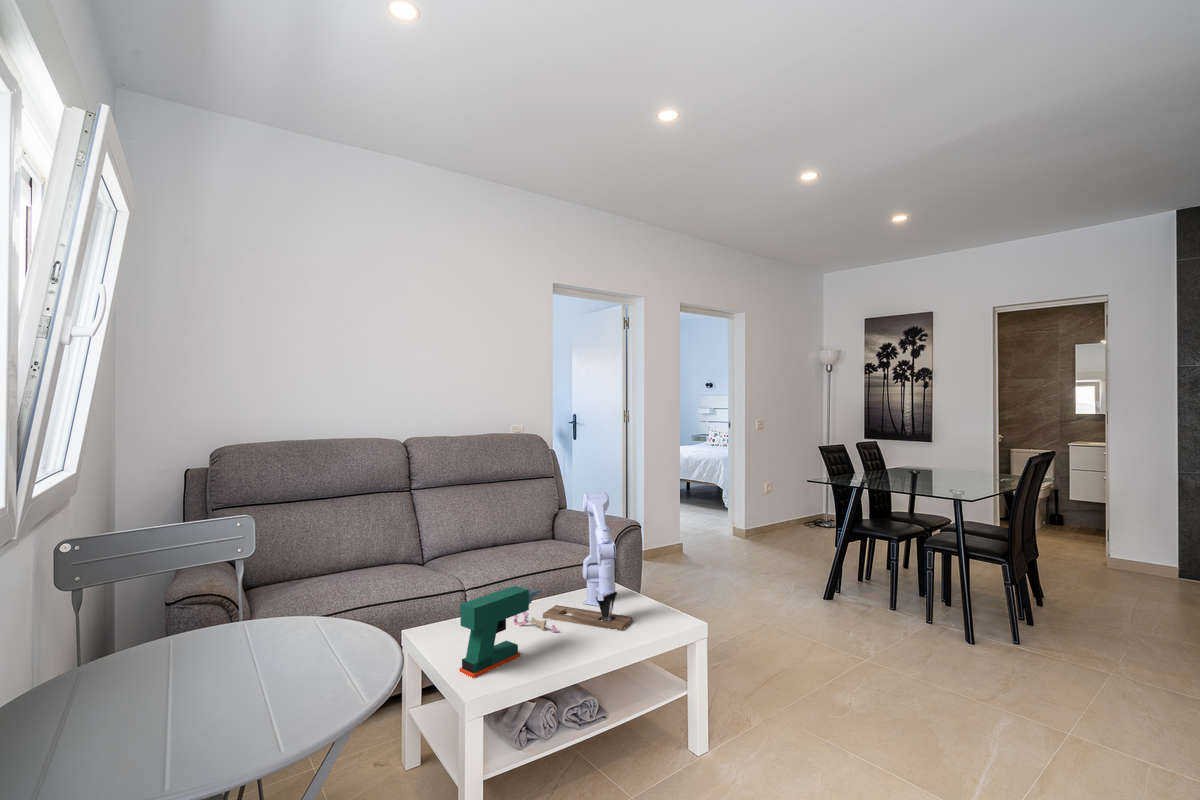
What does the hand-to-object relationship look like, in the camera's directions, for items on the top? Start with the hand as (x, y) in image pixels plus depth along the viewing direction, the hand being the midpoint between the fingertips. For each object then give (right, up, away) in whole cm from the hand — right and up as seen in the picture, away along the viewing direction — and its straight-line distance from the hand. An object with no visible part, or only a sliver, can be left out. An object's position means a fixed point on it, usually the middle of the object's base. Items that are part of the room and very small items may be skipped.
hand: (607, 614), depth 207 cm
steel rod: (0, -3, 0) cm, 3 cm away
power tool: (-32, -3, -27) cm, 42 cm away
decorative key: (-25, -4, -5) cm, 26 cm away
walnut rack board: (-7, -3, +3) cm, 9 cm away
